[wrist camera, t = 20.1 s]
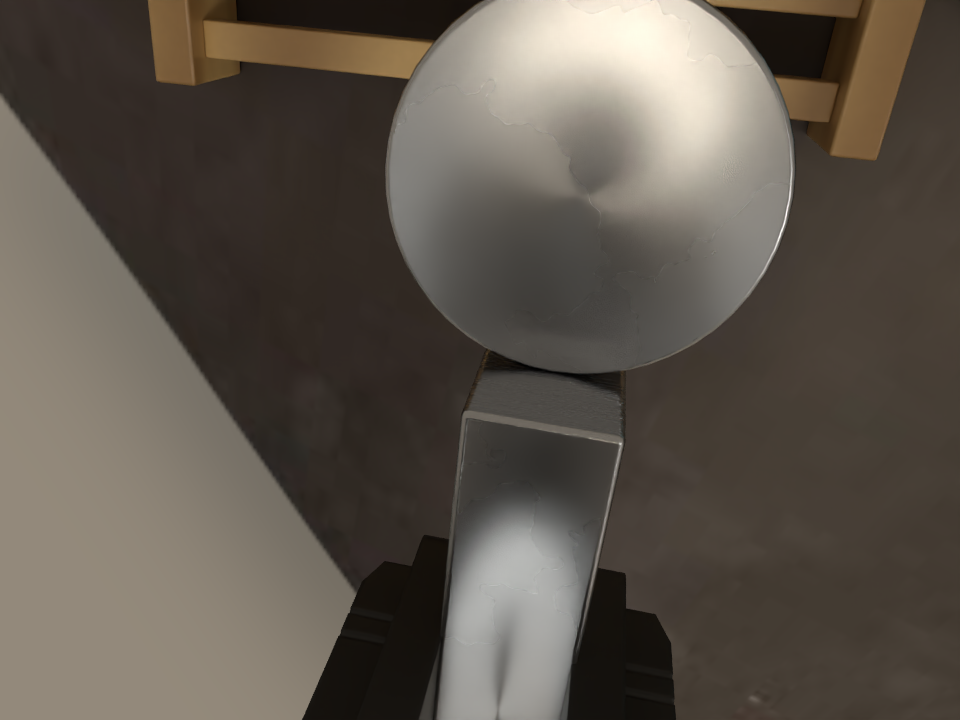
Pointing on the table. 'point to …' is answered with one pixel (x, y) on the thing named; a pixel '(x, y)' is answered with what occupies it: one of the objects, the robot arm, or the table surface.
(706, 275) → the spoon
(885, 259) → the table surface
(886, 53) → the rack
